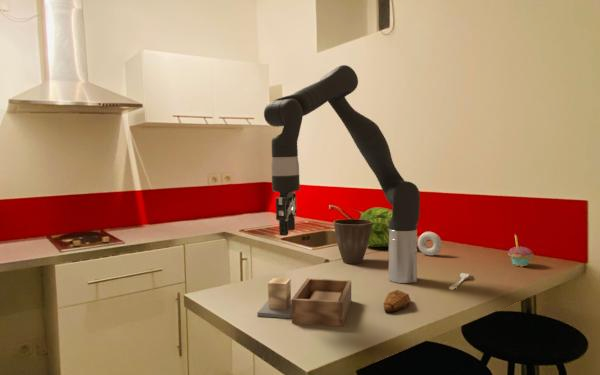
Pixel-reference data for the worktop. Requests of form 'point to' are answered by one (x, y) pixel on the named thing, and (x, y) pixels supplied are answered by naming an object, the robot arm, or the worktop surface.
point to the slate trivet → (275, 312)
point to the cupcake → (520, 254)
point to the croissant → (396, 301)
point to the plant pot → (352, 238)
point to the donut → (434, 238)
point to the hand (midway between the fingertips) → (287, 232)
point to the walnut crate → (321, 302)
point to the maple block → (279, 293)
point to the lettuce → (378, 226)
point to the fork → (463, 276)
